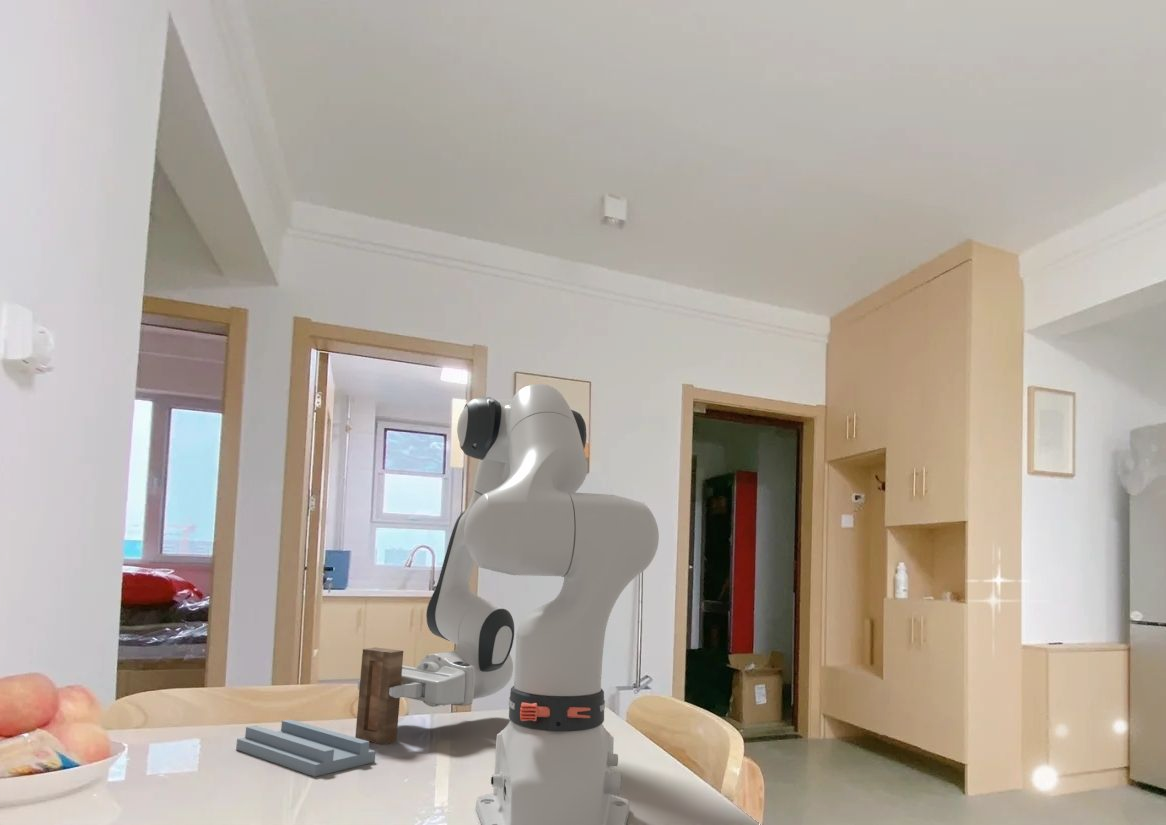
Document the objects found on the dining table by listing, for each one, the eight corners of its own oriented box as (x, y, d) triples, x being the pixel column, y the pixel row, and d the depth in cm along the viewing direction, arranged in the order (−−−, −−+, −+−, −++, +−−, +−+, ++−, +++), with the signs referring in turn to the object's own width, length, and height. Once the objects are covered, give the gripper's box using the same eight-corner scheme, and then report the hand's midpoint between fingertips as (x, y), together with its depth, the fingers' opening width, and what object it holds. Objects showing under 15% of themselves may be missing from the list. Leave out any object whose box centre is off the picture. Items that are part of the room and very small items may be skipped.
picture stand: (374, 761, 109) (376, 740, 110) (314, 776, 101) (316, 753, 102) (295, 737, 121) (297, 718, 121) (236, 749, 113) (238, 728, 114)
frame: (396, 740, 121) (403, 650, 124) (383, 744, 119) (391, 652, 121) (368, 735, 124) (375, 647, 127) (355, 739, 121) (362, 649, 124)
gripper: (401, 654, 140) (338, 661, 129) (481, 667, 128) (418, 676, 117) (399, 689, 139) (335, 699, 128) (478, 706, 126) (415, 719, 116)
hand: (375, 688), depth 122 cm, fingers closed on frame, 6 cm apart
